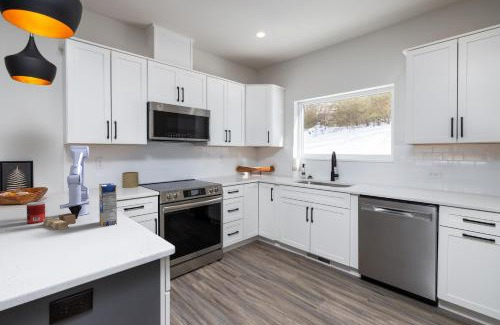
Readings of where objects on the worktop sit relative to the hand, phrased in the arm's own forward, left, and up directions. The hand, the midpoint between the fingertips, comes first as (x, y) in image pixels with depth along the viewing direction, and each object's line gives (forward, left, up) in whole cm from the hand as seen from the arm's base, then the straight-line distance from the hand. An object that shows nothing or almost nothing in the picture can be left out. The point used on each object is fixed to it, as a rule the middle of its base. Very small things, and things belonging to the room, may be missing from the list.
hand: (75, 218), depth 142 cm
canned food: (-17, -12, -2) cm, 21 cm away
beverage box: (+19, +8, -2) cm, 21 cm away
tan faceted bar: (+1, -10, -2) cm, 10 cm away
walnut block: (0, -4, -2) cm, 4 cm away
